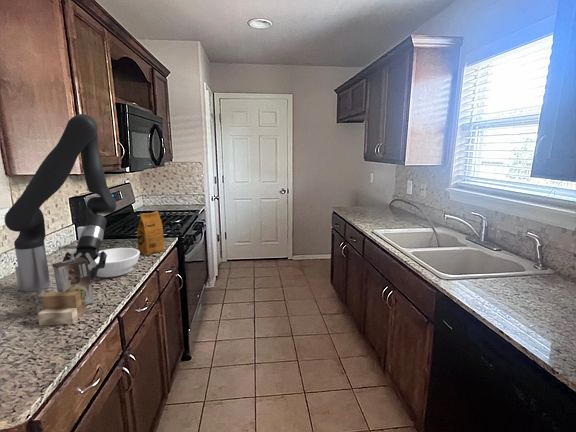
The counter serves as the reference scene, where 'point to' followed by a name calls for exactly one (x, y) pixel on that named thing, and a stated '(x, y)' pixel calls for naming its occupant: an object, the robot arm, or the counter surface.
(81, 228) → the skincare box
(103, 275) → the bowl
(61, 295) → the block
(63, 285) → the coffee box
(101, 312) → the counter surface
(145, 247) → the coffee package
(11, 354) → the counter surface
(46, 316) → the batten
